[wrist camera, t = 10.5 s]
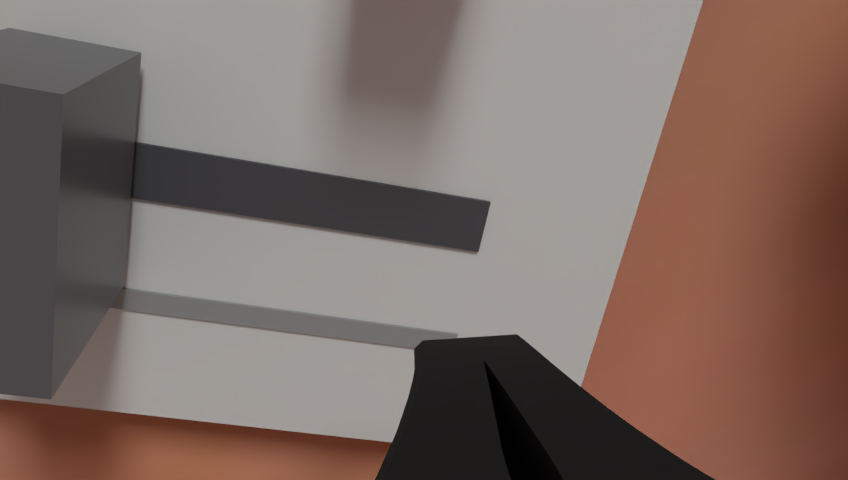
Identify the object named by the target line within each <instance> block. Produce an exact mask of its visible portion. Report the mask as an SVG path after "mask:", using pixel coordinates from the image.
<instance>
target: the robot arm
mask: <svg viewBox="0 0 848 480" xmlns="http://www.w3.org/2000/svg"><path fill="white" fill-rule="evenodd" d="M414 367H415V369H414V375H413V380H412V384H411V388H410V393H409V396H408V399H407V402H406V405H405V408H404V411H403V414H402V417H401V420H400V423H399V426H398V429H397V432H396V434H395V437H394V439H393V441H392V443H391V446H390V448H389V450H388V452H387V455H386V457H385V459H384V461H383V464H382V466H381V468H380V470H379V472H378V475H377V477H376V479H375V480H715V479H713V478H711V477H710V476H708V475H706V474H704V473H703V472H701V471H700V470H698V469H696V468H695V467H693V466H691V465H690V464H688V463H687V462H685V461H683V460H682V459H680V458H679V457H677V456H676V455H674V454H673V453H671V452H670V451H668V450H667V449H665V448H664V447H662V446H661V445H659V444H658V443H656V442H655V441H653V440H652V439H650V438H649V437H647V436H646V435H644V434H643V433H642V432H640V431H639V430H637V429H636V428H634V427H633V426H632V425H630V424H629V423H627V422H626V421H625V420H623V419H622V418H621V417H619V416H618V415H616V414H615V413H614V412H612V411H611V410H610V409H608V408H607V407H606V406H604V405H603V404H602V403H601V402H599V401H598V400H597V399H595V398H594V397H593V396H592V395H590V394H589V393H588V392H586V391H585V390H584V389H583V388H582V387H580V386H579V385H578V384H577V383H575V382H574V381H573V380H572V379H570V378H569V377H568V376H567V375H566V374H564V373H563V372H562V371H561V370H560V369H558V368H557V367H556V366H555V365H554V364H552V363H551V362H550V361H549V360H548V359H546V358H545V357H544V356H543V355H542V354H540V353H539V352H538V351H537V350H536V349H535V348H533V347H532V346H531V345H530V344H529V343H527V342H526V341H525V340H524V339H522V338H521V337H520V336H519V335H517V334H513V335H498V336H482V337H467V338H452V339H436V340H423V341H422V342H421V343H420V344H419V345H418V346H416V347H415V348H414Z"/></svg>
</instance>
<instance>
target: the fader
mask: <svg viewBox="0 0 848 480" xmlns="http://www.w3.org/2000/svg"><path fill="white" fill-rule="evenodd" d="M140 65H141V52H136V51H131V50H126V49H120V48H115V47H109V46H104V45H99V44H93V43H88V42H83V41H77V40H72V39H66V38H61V37H56V36H50V35H45V34H40V33H34V32H29V31H24V30H18V29H13V28H6V29H2V30H0V394H6V395H15V396H23V397H32V398H41V399H50V400H51V399H52V397H53V396H54V394H55V393H56V391H57V389H58V388H59V386H60V385H61V383H62V382H63V380H64V378H65V377H66V375H67V374H68V372H69V371H70V369H71V368H72V366H73V364H74V363H75V361H76V360H77V358H78V357H79V355H80V354H81V352H82V350H83V349H84V347H85V346H86V344H87V343H88V341H89V340H90V338H91V336H92V335H93V333H94V332H95V330H96V329H97V327H98V325H99V324H100V322H101V321H102V319H103V318H104V316H105V315H106V313H107V311H108V310H109V308H110V307H111V305H112V304H113V302H114V301H115V299H116V297H117V296H118V294H119V293H120V291H121V290H122V288H123V287H124V280H125V266H126V253H127V240H128V226H129V213H130V199H131V186H132V172H133V159H134V146H135V132H136V119H137V105H138V92H139V78H140Z"/></svg>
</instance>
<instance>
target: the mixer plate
mask: <svg viewBox="0 0 848 480" xmlns="http://www.w3.org/2000/svg"><path fill="white" fill-rule="evenodd" d="M702 2H703V0H0V30H2V29H6V28H13V29H18V30H24V31H29V32H34V33H40V34H45V35H50V36H56V37H61V38H66V39H72V40H77V41H83V42H88V43H93V44H99V45H104V46H109V47H115V48H120V49H126V50H131V51H136V52H141V65H140V78H139V92H138V105H137V119H136V132H135V146H134V159H133V172H132V186H131V199H130V213H129V226H128V240H127V253H126V266H125V280H124V287H123V288H122V290H121V291H120V293H119V294H118V296H117V297H116V299H115V301H114V302H113V304H112V305H111V307H110V308H109V310H108V311H107V313H106V315H105V316H104V318H103V319H102V321H101V322H100V324H99V325H98V327H97V329H96V330H95V332H94V333H93V335H92V336H91V338H90V340H89V341H88V343H87V344H86V346H85V347H84V349H83V350H82V352H81V354H80V355H79V357H78V358H77V360H76V361H75V363H74V364H73V366H72V368H71V369H70V371H69V372H68V374H67V375H66V377H65V378H64V380H63V382H62V383H61V385H60V386H59V388H58V389H57V391H56V393H55V394H54V396H53V397H52V399H51V400H50V399H41V398H32V397H23V396H15V395H6V394H0V399H5V400H14V401H23V402H32V403H41V404H50V405H59V406H68V407H77V408H86V409H95V410H104V411H113V412H122V413H131V414H140V415H149V416H158V417H167V418H176V419H185V420H194V421H203V422H212V423H221V424H230V425H239V426H248V427H257V428H266V429H275V430H284V431H293V432H302V433H311V434H320V435H329V436H338V437H347V438H356V439H365V440H374V441H383V442H392V441H393V439H394V437H395V434H396V432H397V429H398V426H399V423H400V420H401V417H402V414H403V411H404V408H405V405H406V402H407V399H408V396H409V393H410V388H411V384H412V380H413V375H414V369H415V367H414V348H415V347H416V346H418V345H419V344H420V343H421V342H422V341H423V340H436V339H452V338H467V337H482V336H498V335H513V334H517V335H519V336H520V337H521V338H522V339H524V340H525V341H526V342H527V343H529V344H530V345H531V346H532V347H533V348H535V349H536V350H537V351H538V352H539V353H540V354H542V355H543V356H544V357H545V358H546V359H548V360H549V361H550V362H551V363H552V364H554V365H555V366H556V367H557V368H558V369H560V370H561V371H562V372H563V373H564V374H566V375H567V376H568V377H569V378H570V379H572V380H573V381H574V382H575V383H577V384H578V385H579V386H580V387H581V385H582V381H583V378H584V375H585V372H586V369H587V366H588V362H589V359H590V356H591V353H592V350H593V347H594V343H595V340H596V337H597V334H598V331H599V328H600V325H601V321H602V318H603V315H604V312H605V309H606V306H607V302H608V299H609V296H610V293H611V290H612V287H613V283H614V280H615V277H616V274H617V271H618V268H619V265H620V261H621V258H622V255H623V252H624V249H625V246H626V242H627V239H628V236H629V233H630V230H631V227H632V223H633V220H634V217H635V214H636V211H637V208H638V205H639V201H640V198H641V195H642V192H643V189H644V186H645V182H646V179H647V176H648V173H649V170H650V167H651V163H652V160H653V157H654V154H655V151H656V148H657V145H658V141H659V138H660V135H661V132H662V129H663V126H664V122H665V119H666V116H667V113H668V110H669V107H670V103H671V100H672V97H673V94H674V91H675V88H676V85H677V81H678V78H679V75H680V72H681V69H682V66H683V62H684V59H685V56H686V53H687V50H688V47H689V43H690V40H691V37H692V34H693V31H694V28H695V24H696V21H697V18H698V15H699V12H700V9H701V6H702Z"/></svg>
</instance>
